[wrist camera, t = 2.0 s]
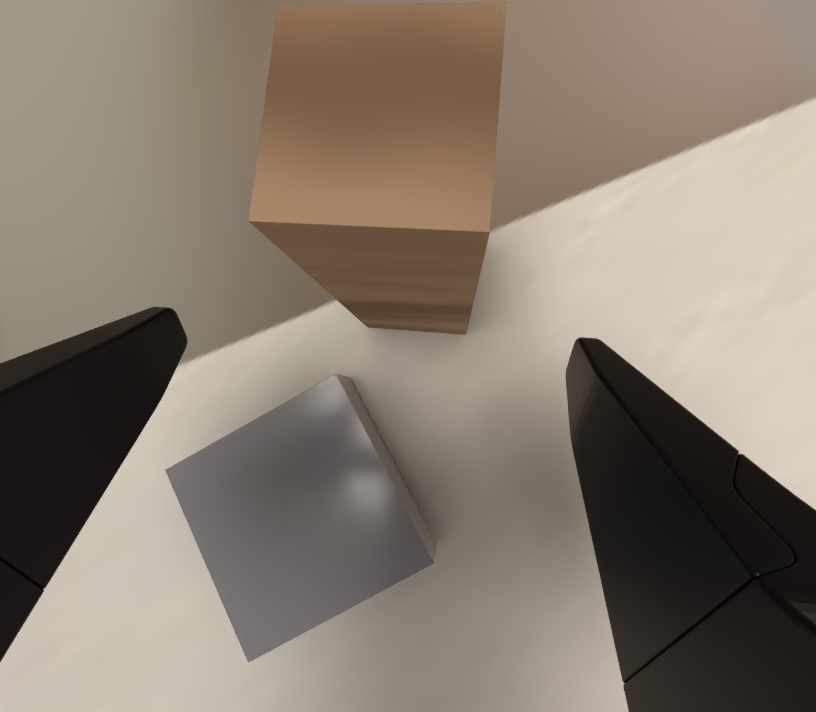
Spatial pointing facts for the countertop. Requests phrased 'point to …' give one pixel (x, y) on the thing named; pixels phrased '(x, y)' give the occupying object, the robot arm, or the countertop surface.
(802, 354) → the countertop surface
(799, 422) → the countertop surface
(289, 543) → the light grey plinth
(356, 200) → the walnut pillar
